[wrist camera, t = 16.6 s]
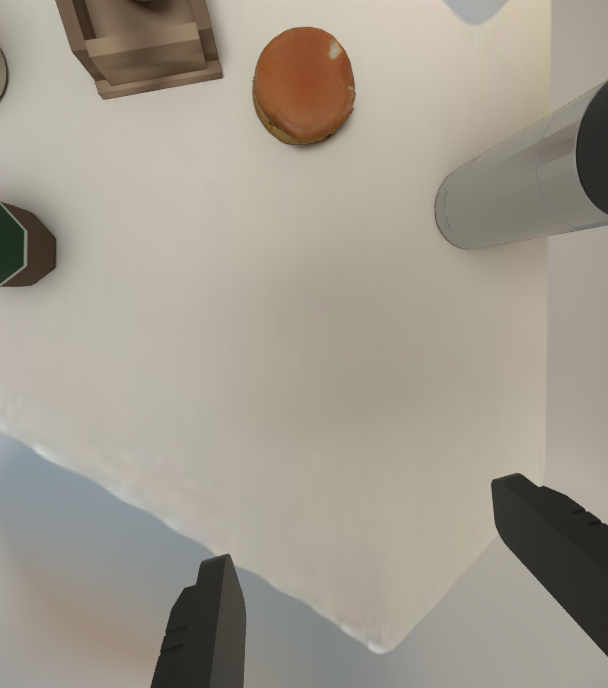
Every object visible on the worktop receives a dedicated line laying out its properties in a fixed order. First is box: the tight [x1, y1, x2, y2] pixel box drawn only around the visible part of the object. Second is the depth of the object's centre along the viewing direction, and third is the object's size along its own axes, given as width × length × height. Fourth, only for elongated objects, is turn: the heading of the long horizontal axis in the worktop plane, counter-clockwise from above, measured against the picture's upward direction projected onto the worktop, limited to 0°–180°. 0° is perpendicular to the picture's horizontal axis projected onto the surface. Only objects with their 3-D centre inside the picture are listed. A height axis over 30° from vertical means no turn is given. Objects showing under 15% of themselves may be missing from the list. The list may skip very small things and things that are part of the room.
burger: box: [253, 27, 355, 144], centre depth 32 cm, size 10×9×5 cm
